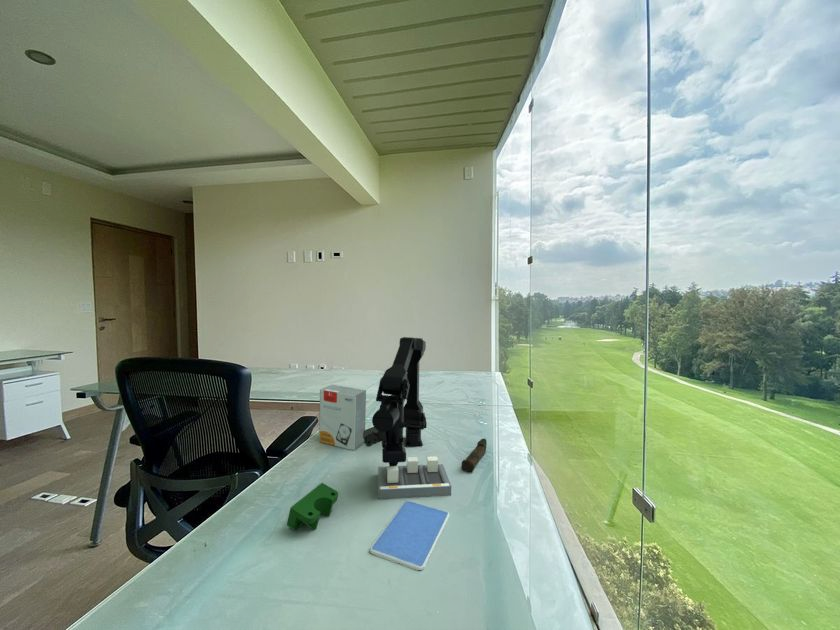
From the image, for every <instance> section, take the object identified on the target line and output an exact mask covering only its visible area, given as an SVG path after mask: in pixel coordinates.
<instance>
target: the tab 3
mask: <svg viewBox="0 0 840 630" xmlns="http://www.w3.org/2000/svg"><path fill="white" fill-rule="evenodd" d="M438 464H439V459H438V456H426V465H427V471H428V472H438Z"/></svg>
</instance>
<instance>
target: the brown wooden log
mask: <svg viewBox="0 0 840 630" xmlns="http://www.w3.org/2000/svg"><path fill="white" fill-rule="evenodd" d="M487 442H488V441H487V438H481V439H480V440H479V441H478V442H477V445H476V446H475V448H474V449H473V450H472V451H471V452H470V454H469V455H468V456H467V457H466V458H465V459H463V460H462V462H461V470H462V471H463V472H466V473H469V472H471V473H473V472H474V470H475V467H476V465H477V464H478V463H479V461H480V460H481V458H483V455H484V454H485V455H486V452H487V451H486V450H487ZM485 455H484V456H485Z"/></svg>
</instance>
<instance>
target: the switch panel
mask: <svg viewBox="0 0 840 630" xmlns="http://www.w3.org/2000/svg"><path fill="white" fill-rule="evenodd" d="M397 466H398V470H399V475H398V483H387V466H377V467H378V468H377V481H378V482H377V485H378V486H377V495H378V496H377V499H378V500H383V499H384V500H385V499H404V498H422V497H438V496H439V497H440V496H441V497H442V496H451V495H452V484H451V482H450V479H449V477H448V474H447V471H446V469H445V466H444V464H443V463H438V472H428V471H427V464H418V473H407V465H397Z"/></svg>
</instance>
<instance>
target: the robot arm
mask: <svg viewBox="0 0 840 630" xmlns="http://www.w3.org/2000/svg"><path fill="white" fill-rule="evenodd" d="M426 348H427V345H426V341H425V340H423V337H407V336H403V337H400V339H399V346H398V348H397V352H396V355H395V357H394V360H393V362H392V365H391V367H388V368H387V369H386V370H385V371H384V373H383V375H382V377H380V380H379V385H378V388H377V394H376V398H375V401H376V402H378V403H379V402H380V405H379V407H378V408H379V409H377V410H376V411H375V412H374V414H373V415H372V419H371V423H372V426H371V427H369V428H367V429H366V428H365V430H364V431H363V438H364V443H363V444H365V446H366V447H367V448H369V447H371V446H372V445H376V444H377V443H380V442H381V445H382V446H381V447H382V450H381V451H382V459H381V460H382V463H385V464H388V465H389V466H398V464H399V463H405V462H407V452H406V451H407V450H406V448H405V447H422V446H423V445H424V443H423V440H422V431H423V430H425V429H427V426H428V425H427V424H428V423H427V416H426V414H425V412H424V405H423V404H422V403H421V401H420V361H421V359H422V357H423V356H424V355H425V352H426ZM405 402H406V403H405ZM404 429H405V437H404ZM403 444H404V445H403Z"/></svg>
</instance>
